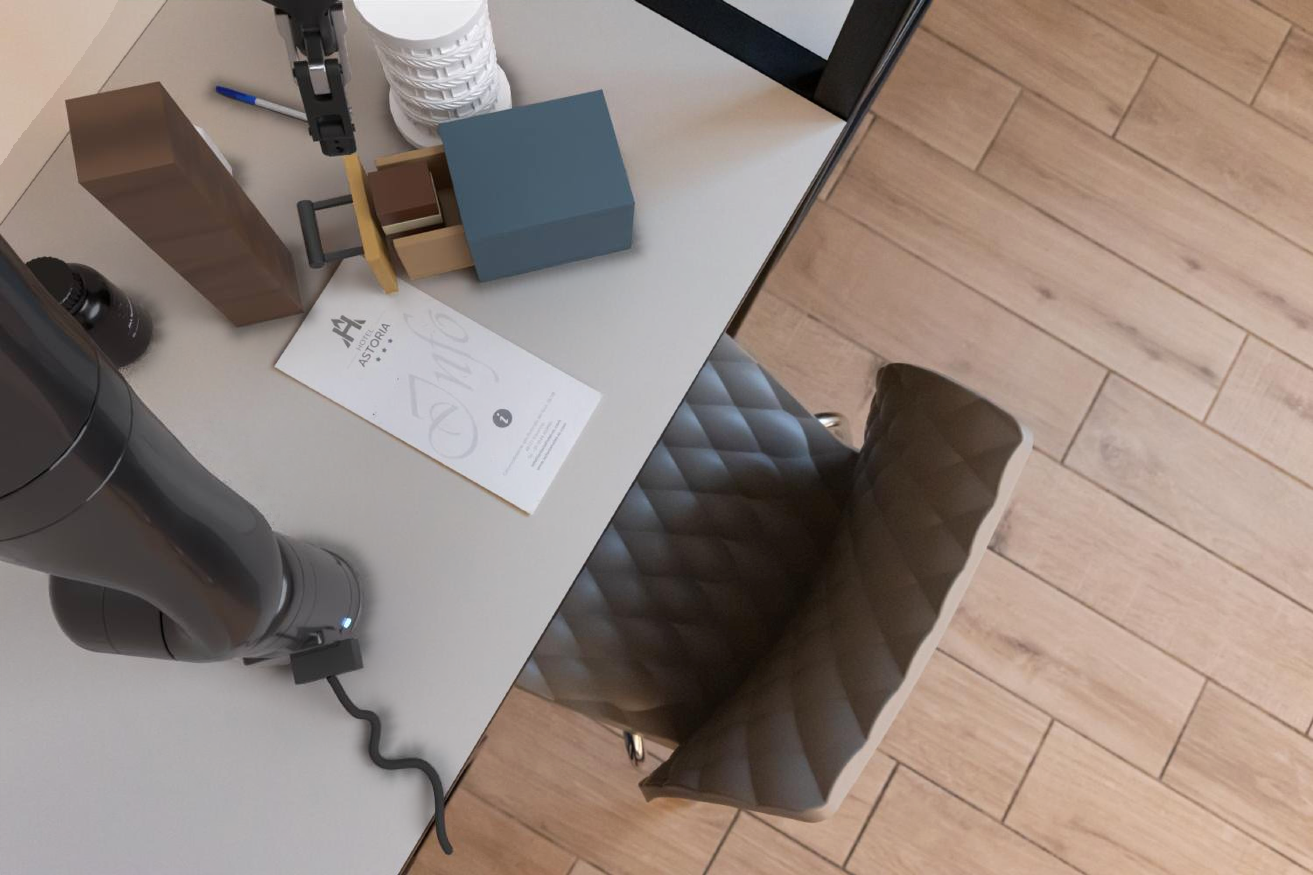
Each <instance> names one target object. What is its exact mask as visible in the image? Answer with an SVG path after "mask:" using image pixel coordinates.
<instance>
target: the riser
mask: <svg viewBox="0 0 1313 875" xmlns="http://www.w3.org/2000/svg"><path fill="white" fill-rule="evenodd" d="M64 102H65V109H66V115H67V120H68V127H69V128H68V129H69V133H70V139H71V140H70V141H71V145H72V152H73V159H74V165H75V172H76V176H77V183H78V184H79V185H80V186H81V187H82V188H83V189H84V190H86V191H87V192H88V193H89V194H90V195H91V196H92V197H93V198H94V199H95V200H97V201H98V203H100V204H101V205H102V206H103V207H104V208H106V209H107V211H108V212H110V213H111V214H112V215H113V216H114V217H115V218H117V220H119V221H120V222H121V223H122V224H123V225H124V226H125V227H126V228H128V230H130V231H131V232H132V233H133V234H134V235H135V236H136V237H137V238H139V239H140V240H141V241H142V242H143V243H144V244H145V245H146V246H147V247H149V248H150V250H151V251H153V252H154V253H155V254H156V255H157V256H158V257H159V258H161V259H162V260H163V261H164V262H165V263H166V264H167V265H168V266H169V267H170V268H172V269H173V271H175V272H176V273H177V274H178V275H179V276H180V277H182V278H183V279H184V280H185V281H186V282H187V283H188V284H189V285H190V286H191V287H192V288H194V289H195V290H196V291H197V292H198V293H199V294H200V295H201V296H203V298H204V299H206V300H207V301H208V302H209V303H210V304H211V305H212V306H213V307H215V309H216V310H218V311H219V312H220V313H221V314H222V315H223V316H225V318H226V319H228V320H229V321H230V322H231V324H233V325H234V326H235V327H237V328H238V329H239V328H242V327H243V328H244V327H247V326H252V325H256V324H261V323H265V322H269V321H273V320H277V319H278V320H279V319H282V318H286V317H291V316H295V315H300V314H303V313H304V307H303V301H302V297H301V292H300V288H299V282H298V278H297V273H296V268H295V263H294V259H293V254H292V252H291V251H290V249H289V248H288V247H287V245H286V244H285V243H284V242H283V240H282V239H281V238H280V236H279V235H278V234H277V232H275V230H274V229H273V227H272V226H271V225H270V224H269V222H268V221H267V219H266V218H265V217H264V216H263V214H262V213H261V212H260V211H259V209H258V208H257V206H256V205H255V204H254V202H252V200H251V199H250V197H249V196H248V195H247V194H246V192H245V191H244V189H243V188H242V187H241V186H240V184H239V183H238V181H237V180H236V179H235V178H234V176H233V177H232V175H231V174H230V173H229V171H228V170H227V169H226V167H225V166H224V165H223V164H222V162H221V161H220V160H219V158H218V157H217V156H216V154H215V153H214V152H213V151H212V149H211V148H210V147H209V145H208V144H207V143H206V141H205V140H204V139H203V137H202V136H201V135H200V134H199V132H198V131H197V130H196V128H195V127H194V126H193V125H194V124H193V123H192V122H191V121H190V119H189V118H188V117H187V115H186V114H185V113H184V111H183V110H182V109H181V108H180V106H179V105H178V104H177V102H176V101H175V100H174V98H173V97H172V95H171V94H170V93H169V92H168V91H167V89H166V88H165V86H164V85H163V84H162V83H161V81H159V80H157V81H153V82H149V83H143V84H142V83H141V84H137V85H133V86H128V87H123V88H118V89H112V90H107V91H103V92H97V93H93V94H88V95H83V96H78V97H73V98H67V99H64Z"/></svg>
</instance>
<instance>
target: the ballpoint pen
mask: <svg viewBox="0 0 1313 875" xmlns="http://www.w3.org/2000/svg"><path fill="white" fill-rule="evenodd" d="M215 92H216V93H218V94H221V95H223V96H226V97H229V98H232V99H235V100H238V101H242V102H244V103H247V104H250V105H254V106H259V107H262V108H264V109H268V110H272V111H274V112H277V113H280V114H284V115H287V116H290V117H293V118H296V119H299V120H302V121H306V122H308V120H307V116H306V113H305V112H302V111H299V110H296V109H293V108H290V107H286V106H283V105H280V104H277V103H274V102H271V101H268V100H265V99H262V98H259V97H257V96H254V95H251V94H248V93H245V92H241V91H238V90H235V89H232V88H228V87H225V86H221V85H216V87H215Z"/></svg>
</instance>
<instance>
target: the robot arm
mask: <svg viewBox="0 0 1313 875" xmlns="http://www.w3.org/2000/svg"><path fill="white" fill-rule="evenodd" d="M261 1H262V2H264V3H266V4H269V5H271V6H272V7H273V13H274V17H275V23H276V28H277V32H278V34H279V36H280V37H281V38H282V39H283V41H284V43H285V48H286V52H287V57H288V62H289V66H290V71H291V75H292V80H293V83H294V84H295V85H296V86H297V87H298V90H299V94H300V98H301V101H302V105H303V108H304V113H305V114H306V116H307V120H308V121H307V123H308V128H307V129H308V134H309V137H311V139H312V141H313V143H316V142H317V143H318V142H319V145H320V149H321V153H322V154H323V155H324V156H326V157H330V158H331V157H332V158H333V157H342V156H348V155H352V154H356V152H358V148H357V141H356V136H355V132H356V126H355V123H352V119H353V118H352V116H353V115H354V111H353V107H352V106H350V102H349V96H348V92H347V86H346V85H347V84H349V83H350V82H351V80H352V78H353V77H352V76H353V75H352V68H351V63H350V57H349V51H348V46H347V40H346V35H345V34H346V32H347V31H348V23H347V17H346V12H345V5H344V1H343V0H261ZM298 51H299V52H298ZM299 53H300V54H301V55H302V56H304V57H306V60H300V57H299ZM334 53H338V55H339V58H338V57H333V58H332V57H331V56H332V55H334ZM326 57H331V58H326ZM25 264H26V262H24V260H22V258H21V257H20V256H19V255H18V254H17V252H16V250H14V248H13V247H12V246H11V245H10V243H9V242H8V241H7V240H6V239H5V238H4V236H3V235H2V234H1V233H0V562H3V563H7V564H10V565H14V566H18V567H22V568H26V569H29V570H32V571H35V572H40V573H44V574H46V575H47V574H48V584H47V585H48V587H47V588H48V597H49V603H50V604H49V605H50V607H51V612H52V614H53V617H54V619H55V621H56V623H57V625H58V627H59V628H60V630H61V631H62V633H63V634H64V635H65V637H67V639H69V640H70V641H71V642H72V643H73V644H74V645H76V646H78V647H79V648H81V649H83V650H85V651H88V652H92V653H99V654H108V655H118V656H127V657H137V658H145V659H156V660H164V661H173V662H174V661H175V662H182V663H189V664H190V663H191V664H192V663H193V664H209V663H220V662H226V661H229V660H232V659H242V663H243V665H244V666H246V667H252V666H253V667H256V666H259V667H260V666H286V665H290V666H291V670H292V674H293V680H294V681H293V682H294V685H295V686H297V685H298V686H299V685H307V684H310V683H313V682H317V681H321V680H326V681H327V683H328V685H329V686H330V688H331V689H332V691H333V693H334V695H335V696H336V698H337V700H338V702H339V703H340V704H341V706H342V707H343V708H344V710H345V711H346V712H347V713H348V714H349V715H350V716H351V717H352V718H354V719H357V720H362V721H363V720H365V721H368V722H369V723H370V735H369V741H368V754H369V757H370V760H371V762H372V764H374V765H375V766H377V767H378V768H380V769H382V770H388V771H394V770H404V769H417V770H420V771H422V772H423V773H424V774H425V776H426V777H427V778H428V780H429V782H430V784H431V787H432V791H433V799H434V826H435V833H436V838H437V841H438V843H439V845H440V848H441V849H442V851H443V853H444V854H445V855H447V856H450V855H452V854H453V853H454V848H453V845H452V844H451V843H450V841H449V838H448V834H447V830H446V819H445V818H446V817H445V795H444V788H443V783H442V780H441V778H440V776H439V774H438V772H437V771H436V769H435V768H434V767H433V766H432V764H430V763H429V762H428V761H426V760H424V759H422V758H417V757H416V758H415V757H409V758H401V759H387V758H385V757H383V756H382V755H381V754H380V752H379V743H380V737H381V729H382V728H381V726H382V725H381V721H380V719H379V716H378V715H377V714H376V713H375V712H374V711H372V710H368V709H367V710H366V709H365V710H364V709H361V708H359V707H358V706H357V705H356V704H355V703H354V702H353V701H352V700H351V698H350V697H349V696H348V693H347V692H346V690H345V689H344V687H343V685H342V684H341V682H340V680H339V679H338V677H337V676H339V675H343V674H347V673H350V672H355V671H358V670H362V669H364V668H365V667H364V662H363V657H362V653H361V648H360V642H359V639H358V638H354V633H355V631H356V629H357V627H358V625H359V624H360V621H361V618H362V617H363V616H362V615H363V612H364V605H365V604H364V603H365V597H364V596H365V595H364V588H363V585H362V581H361V579H360V576H359V575H358V573H357V571H356V569H354V567H353V565H351V564H350V562H349V561H347V559H346V558H344V557H343V556H341V555H339V554H337V553H335V552H334V551H331V550H328V549H326V548H323V547H317V546H318V545H316V544H315V546H314V545H313V544H310V543H307V542H304V541H301V540H299V539H296V538H293V537H291V536H288V535H286V534H283V533H280V532H278V531H276V530H273V529H272V527H271V525H270V523H269V521H268V520H267V519H266V517H265V516H264V514H262V512H260V510H259V509H258V508H257V507H255V506H254V505H253V504H252V503H251V502H249V501H248V500H247V499H245V497H243V496H242V495H240V494H239V493H238V492H236V491H235V490H234V489H232V488H231V486H229V485H227V484H226V483H224V482H223V481H222V480H221V479H219V478H218V477H217V476H216V475H214V474H213V473H212V472H211V471H209V469H208V468H207V467H205V465H203V463H201V462H200V461H199V460H198V459H197V458H196V457H195V456H194V455H193V454H192V453H191V452H190V451H189V450H188V448H187V447H185V445H184V444H183V443H182V442H181V441H180V440H179V439H178V437H177V436H175V434H173V432H172V431H171V430H170V429H169V428H168V426H166V425H165V424H164V423H163V422H162V421H161V419H160V418H159V417H158V416H157V415H156V414H155V413H154V412H153V411H152V410H151V409H150V408H149V407H148V406H147V404H145V402H143V401H142V399H141V398H140V397H139V395H138V394H137V393H136V392H135V390H134V389H133V387H132V386H131V384H129V382H128V381H127V379H126V378H125V377H124V376H123V374H122V372H121V371H120V370H119V368H117V367H116V366H115V365H114V364H113V363H112V362H111V360H110V359H109V358H108V357H107V356H106V354H105V353H104V352H103V351H102V350H101V349H100V347H99V346H98V345H97V344H96V343H95V342H94V340H93V339H92V338H91V337H90V336H89V335H88V333H87V332H86V331H85V330H84V329H83V327H82V326H81V325H80V324H79V323H78V322H77V321H76V319H75V318H74V317H73V316H72V315H71V314H70V313H69V312H68V311H67V310H66V309H65V308H64V307H63V306H62V305H61V304H60V303H59V302H58V301H57V300H56V299H55V298H54V297H53V296H52V295H51V294H50V293H49V292H48V291H47V290H46V289H45V288H44V287H43V286H42V284H41V283H40V282H39V281H38V279H37V278H36V277H35V276H34V275H33V273H32V272H31V271H30V270H29V268H28V267H27V266H26V265H25Z"/></svg>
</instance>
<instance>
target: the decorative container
mask: <svg viewBox="0 0 1313 875" xmlns="http://www.w3.org/2000/svg"><path fill="white" fill-rule="evenodd" d="M352 1H353V4H354V6H355V9H356V11H357V14H358V17H359V19H360V20H361V21H362V22H363V24H364V25H365V26H366V28H367V30H368V33H369V36H370V37H371V38H372V40H373V43H374V48H375V52H376V54H377V57H378V59H379V61H380V62H381V64H382V70H383V73H384V76H385V78H386V81H387V82H388V84H389V88H390V89H389V93H388V98H389V99H388V100H389V110H390V112H391V115H392V118H393V121H394V123H395V125H396V128H397V130H398V132H400V134H401V135H402V137H403V138H404V139H405V140H406V141H407V142H408V143H409V144H410V145H412V146H413V147H414V148H416V150H418V149H423V148H428V147H432V146H437V145H442V144H443V143H442V139H441V135H440V131H439V127H438V124H440V123H445V122H450V121H455V120H459V119H464V118H469V117H473V116H478V115H483V114H488V113H492V112H497V111H502V110H507V109H511V108H513V101H512V93H511V86H510V83H509V81H508V80H509V79H508V78H507V76H506V73H505V71H504V70H503V69H502V68H501V66H500V65H499V63H498V62H497V60H498V58H497V50H496V49H495V48H496V44H495V42H494V41H493V40H494V35H493V27H492V26H491V25H492V22H491V20H490V18H489V15H490V13H489V4H488V0H352Z"/></svg>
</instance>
